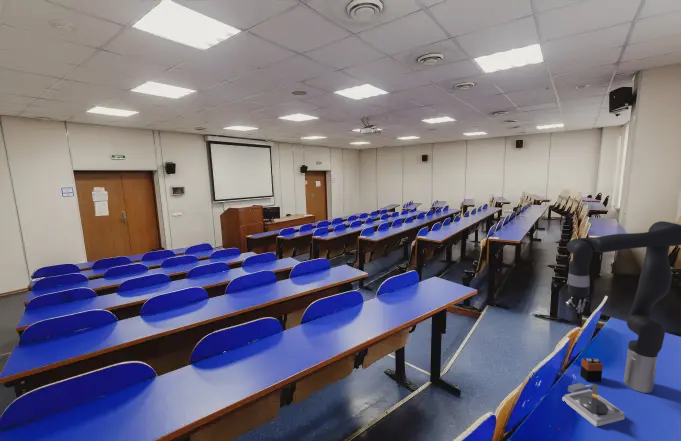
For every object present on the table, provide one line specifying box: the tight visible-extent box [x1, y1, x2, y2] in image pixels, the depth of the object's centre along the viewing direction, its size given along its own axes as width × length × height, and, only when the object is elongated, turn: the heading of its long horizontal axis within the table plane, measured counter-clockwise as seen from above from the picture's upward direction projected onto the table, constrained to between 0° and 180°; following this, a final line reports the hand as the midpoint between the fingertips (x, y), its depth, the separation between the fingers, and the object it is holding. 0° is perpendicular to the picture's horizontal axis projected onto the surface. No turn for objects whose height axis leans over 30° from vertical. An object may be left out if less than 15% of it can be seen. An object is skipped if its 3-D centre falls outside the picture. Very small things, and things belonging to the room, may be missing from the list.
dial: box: [579, 383, 608, 415], centre depth 120 cm, size 12×9×9 cm
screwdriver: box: [567, 382, 594, 393], centre depth 133 cm, size 14×3×3 cm, turn 103°
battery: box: [579, 357, 604, 382], centre depth 139 cm, size 4×7×10 cm, turn 89°
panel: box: [561, 388, 625, 427], centre depth 122 cm, size 14×14×3 cm
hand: (577, 319), depth 136 cm, fingers closed
